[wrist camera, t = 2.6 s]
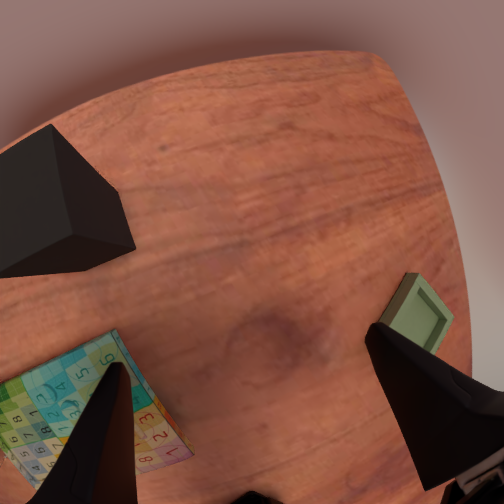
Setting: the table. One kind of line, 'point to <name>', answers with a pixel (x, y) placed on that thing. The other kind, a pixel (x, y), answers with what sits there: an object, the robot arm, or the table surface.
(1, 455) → the figurine
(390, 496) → the table surface
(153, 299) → the table surface
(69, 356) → the puzzle game
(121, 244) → the tall black rectangular block
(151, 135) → the table surface
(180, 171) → the table surface
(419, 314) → the green square tray
